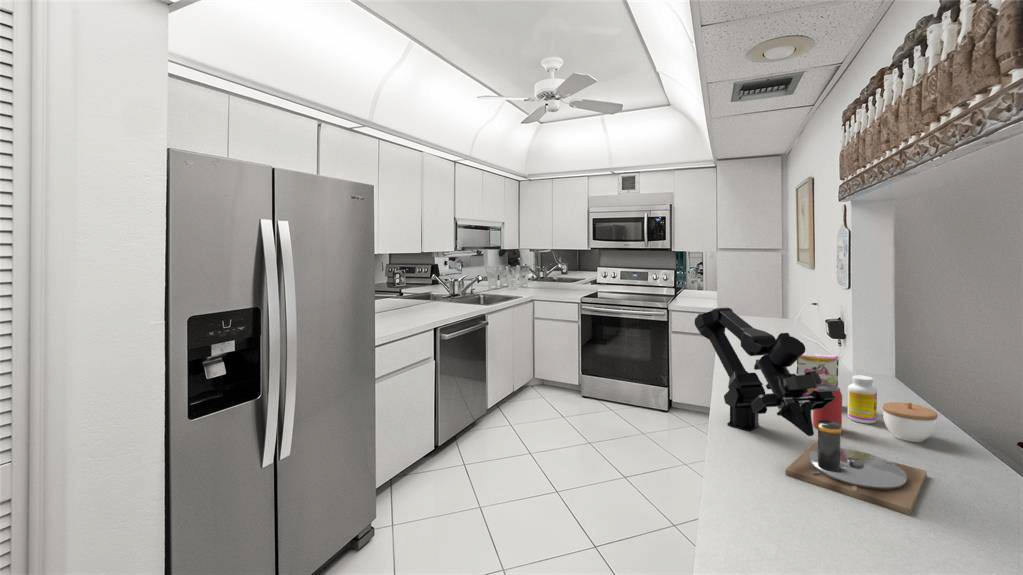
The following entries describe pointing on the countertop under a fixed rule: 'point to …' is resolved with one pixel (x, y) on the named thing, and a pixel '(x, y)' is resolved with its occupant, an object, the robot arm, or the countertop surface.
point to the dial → (853, 462)
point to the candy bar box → (819, 368)
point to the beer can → (829, 407)
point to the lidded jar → (909, 421)
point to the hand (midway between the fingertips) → (811, 435)
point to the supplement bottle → (862, 400)
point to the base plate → (890, 499)
